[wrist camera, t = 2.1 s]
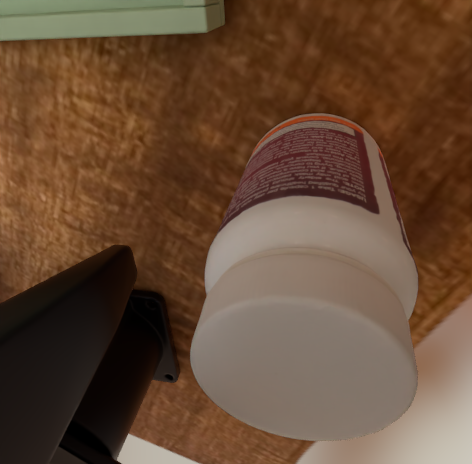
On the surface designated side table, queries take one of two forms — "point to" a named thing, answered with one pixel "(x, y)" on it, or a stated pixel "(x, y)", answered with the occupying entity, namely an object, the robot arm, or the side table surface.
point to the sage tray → (106, 18)
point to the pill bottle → (310, 289)
